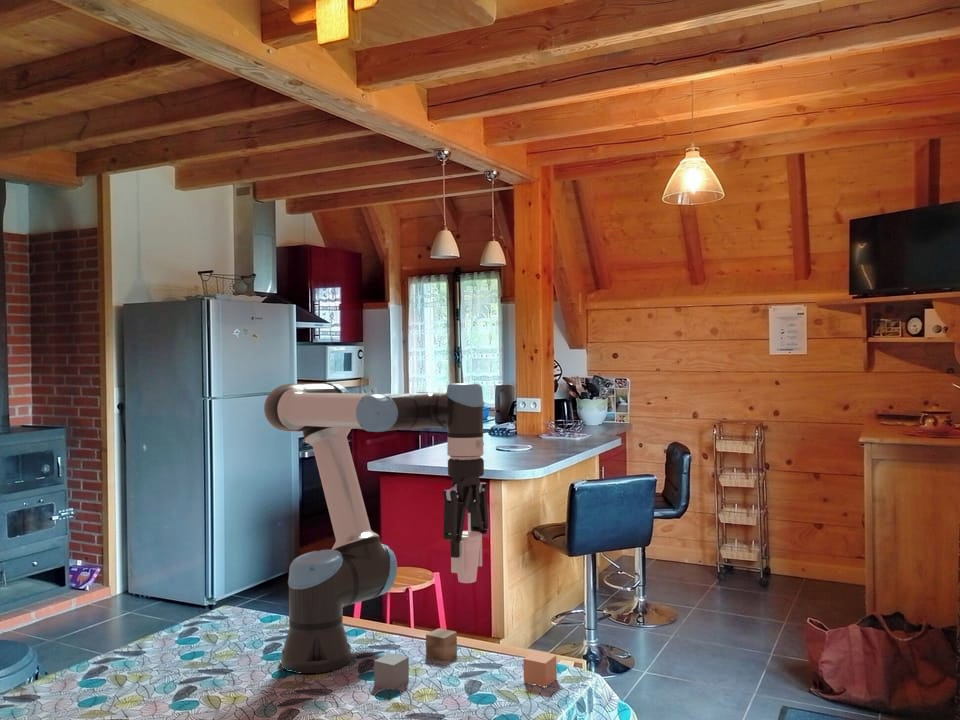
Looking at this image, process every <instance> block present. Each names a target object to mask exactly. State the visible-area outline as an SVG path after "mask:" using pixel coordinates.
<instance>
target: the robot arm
mask: <svg viewBox="0 0 960 720" xmlns="http://www.w3.org/2000/svg"><path fill="white" fill-rule="evenodd" d="M483 396H484V393H483V386H482V385H481V384H479V383H478V382H477V383H476V382H475V383H464V382H463V383H460V382H459V383H449V384H448V385H447V387H446V392H429V391H427V392H426V391H419V392H412V393H411V392H409V393H408V392H407V393H355V392H354V393H351V392H350V391H349V390H348V389H347V388H346V387H345V386H343V385H341V384H339V383H331V382H320V383H319V382H318V383H317V382H316V383H314V382H313V383H286V384H283V385H280V386H277V387H275V388H274V389H272V390H271V391H270V392H269V393H268V395H267V396H266V399H265V400H264V401H265V402H264V407H263V408H264V409H263V411H264V416H265V418H266V420H267V422H268V423H269V424H270V425H271V426H272V427H274V428H275V429H278V430H280V431H283V432H302V436H303V439H304V442H305V443H306V444H309V446H310V445H311V446H312V448H313V453H314V458H315V461H316V466H317V469H318V473H319V477H320V481H321V485H322V489H323V493H324V498H325V502H326V505H327V506H326V507H327V509H328V513H329V518H330V522H331V526H332V531H333V534H334V537H335V543H334V544H333V546H332V548H331V549H327V548H326V549H321V550H312V551H309V552H306V553H303V554H301V555H298V556H297V557H296V558H294V559H293V560H292V561H291V563H290V565H289V571H288V580H287V584H288V624H289V625H288V632H287V634H286V638H285V640H284V641H285V642H284V646H283V649H282V651H281V654H280V655H281V656H280V658H281V659H280V664H282V666H283V667H284V668H286V669H288V670H292V671H296V672H301V673H316V674H323V673H326V672H327V671H328V672H331V670H332V671H336V670H339V669H341V668H343V667H345V666H346V665H348V664H347V663H348V662H349V663H350V662H351V660H350V659H352V649H351V645H350V643H349V642H348V638H347V633H346V630H345V626H344V623H343V608H344V607H347V606H350V605H353V604H357V603H360V602H364V601H368V600H373V599H375V598H378V597H379V596H382V595H385V594H387V593H388V592H389V591H390V590H391V589H392V587H393V586H394V584H395V581H396V579H397V574H398V562H397V561H398V560H397V557H396V554H395V553H394V551H393V549H391V547H390V546H388V545H386V544H383V543H382V541H381V537H380V535H379V534H378V533H376V532H374V531H373V530H372V529H371V525H370V520H369V516H368V513H367V510H366V505H365V502H364V498H363V494H362V490H361V486H360V482H359V479H358V474H357V471H356V467H355V464H354V461H353V460H354V459H353V456H352V453H351V449H350V445H349V440H348V435H349V434H350V432H351V430H352V429H353V430H354V429H357V430H364V431H366V432H371V433H372V432H374V433H384V432H388V431H397V430H398V431H399V430H411V429H412V430H413V429H427V428H438V429H439V428H443V429H444V428H445V429H446V431H447V454H446V455H447V456H448V457H449V458H448V459H447V476H448V477H450V478H451V479H452V482H451V488H449V489H444V490H443V491H442V497H443V501H444V503H443V504H444V505H443V506H444V508H443V511H444V512H443V536H442V537H443V539H444V540H445V541H448V542H450V567H451V569H450V573H452V574H457V573H459V574H464V541H461V539H462V532H463V531H464V527H465V526H464V524H465V521H466V520H465V519H466V513H467V514H468V513H470V517H471V531H476V532H480V533H482V535H487V533H488V529H489V512H488V511H489V509H488V496H487V495H488V494H487V493H488V486H489V485H488V483H487V482H481V481H480V480H481V479H480V478H481V477H482V476H484V475H485V461H484V458H483V456H484V446H485V443H484V406H485V402H484V397H483ZM478 567H483V538H482V539H481V540H480V550H479V559H478ZM344 665H345V666H344ZM282 666H281V667H282ZM342 666H343V667H342ZM283 667H282V668H283ZM340 667H341V668H340ZM284 668H283V669H284ZM335 669H336V670H335ZM322 672H323V673H322ZM328 672H327V673H328Z"/></svg>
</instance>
